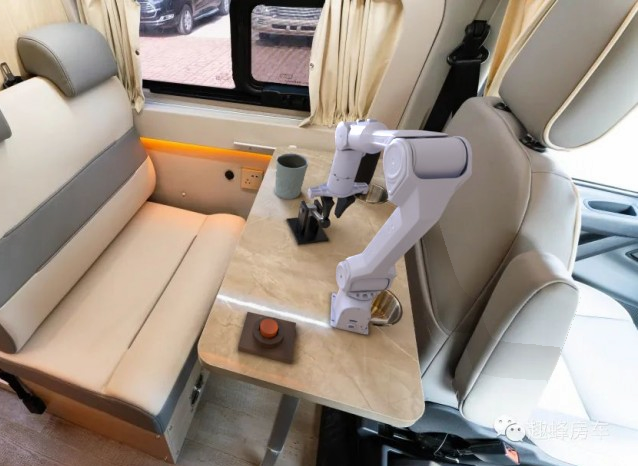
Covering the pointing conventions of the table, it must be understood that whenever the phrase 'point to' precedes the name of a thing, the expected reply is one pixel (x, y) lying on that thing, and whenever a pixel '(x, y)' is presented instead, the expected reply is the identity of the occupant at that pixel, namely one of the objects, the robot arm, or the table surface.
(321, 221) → the lever
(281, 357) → the button block
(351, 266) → the robot arm
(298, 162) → the green cup
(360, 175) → the portable speaker
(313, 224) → the bracket
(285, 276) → the table surface
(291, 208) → the table surface
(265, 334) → the button
